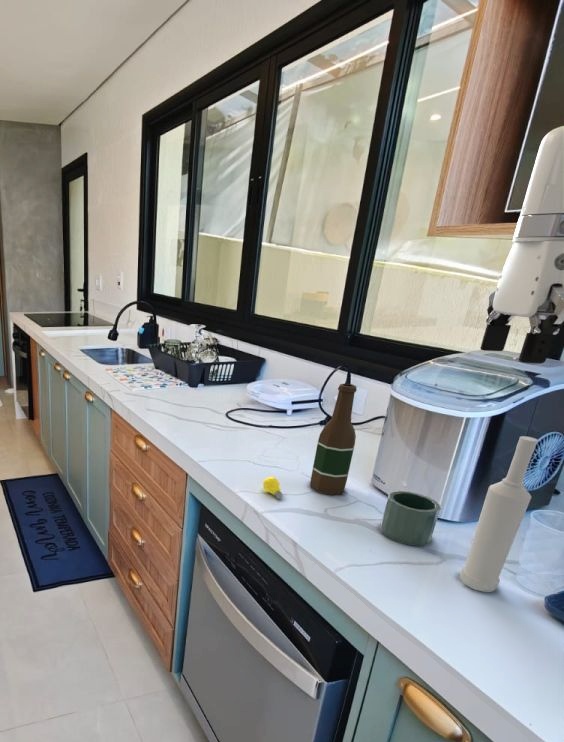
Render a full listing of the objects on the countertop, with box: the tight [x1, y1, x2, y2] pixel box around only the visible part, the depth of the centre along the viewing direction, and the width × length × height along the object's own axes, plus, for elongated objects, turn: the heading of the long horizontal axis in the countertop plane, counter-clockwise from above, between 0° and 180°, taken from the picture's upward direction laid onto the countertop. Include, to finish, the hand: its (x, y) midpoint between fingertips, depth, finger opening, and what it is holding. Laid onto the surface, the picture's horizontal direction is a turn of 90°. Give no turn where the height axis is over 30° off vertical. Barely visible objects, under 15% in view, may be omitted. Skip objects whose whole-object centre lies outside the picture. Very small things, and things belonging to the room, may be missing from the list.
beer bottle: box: [309, 383, 357, 496], centre depth 110 cm, size 8×8×24 cm
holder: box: [380, 490, 441, 547], centre depth 95 cm, size 8×8×7 cm
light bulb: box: [262, 476, 284, 500], centre depth 110 cm, size 3×6×4 cm, turn 17°
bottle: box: [459, 435, 539, 593], centre depth 77 cm, size 5×5×25 cm
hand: (510, 356), depth 75 cm, fingers open, 9 cm apart
